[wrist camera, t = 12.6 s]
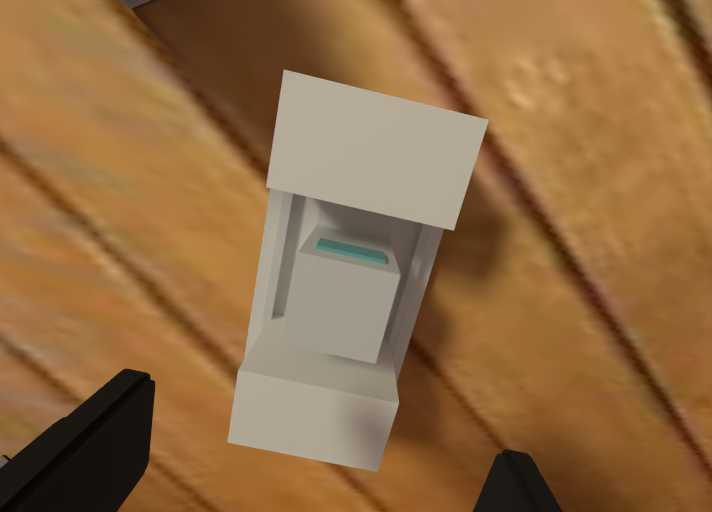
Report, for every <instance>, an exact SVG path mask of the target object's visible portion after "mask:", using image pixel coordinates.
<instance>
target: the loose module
mask: <svg viewBox="0 0 712 512" xmlns="http://www.w3.org/2000/svg"><path fill="white" fill-rule="evenodd" d="M400 276H401V274H400V271H399V268H398V265H397V262H396V259H395V256H394V252H393V249H392V246H391V243H390V241H389V240H384V239H380V238H376V237H371V236H367V235H362V234H358V233H354V232H349V231H345V230H341V229H336V228H332V227H328V226H323V225H319V224H317V225H316V227H315V228H314V229H313V231H312V232H311V234H310V235H309V237H308V238H307V239H306V241H305V242H304V244H303V245H302V246H301V248H300V249H299V251H298V253H297V259H296V264H295V269H294V275H293V280H292V285H291V290H290V296H289V301H288V306H287V312H286V317H285V322H284V328H283V333H282V338H281V344H284V345H289V346H294V347H299V348H303V349H308V350H313V351H317V352H322V353H327V354H331V355H336V356H341V357H345V358H350V359H355V360H359V361H364V362H369V363H374V364H376V361H377V357H378V354H379V350H380V347H381V343H382V340H383V336H384V333H385V329H386V325H387V322H388V318H389V315H390V311H391V308H392V304H393V301H394V297H395V294H396V290H397V286H398V283H399V279H400Z"/></svg>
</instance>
